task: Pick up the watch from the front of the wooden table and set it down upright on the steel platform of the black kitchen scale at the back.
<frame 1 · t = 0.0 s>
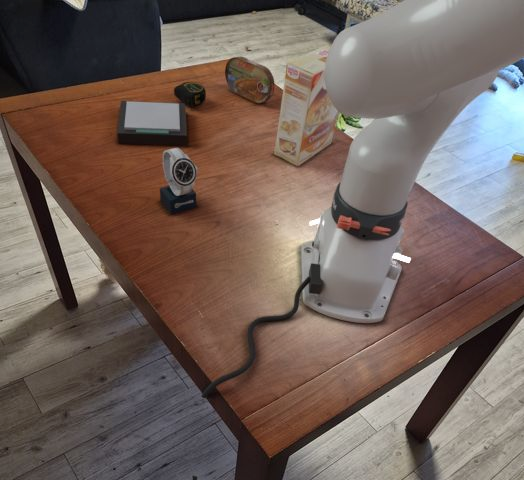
watch: (178, 205, 92), on the table
tin: (248, 97, 124), on the table
scale: (153, 127, 109), on the table
tape measure: (190, 104, 118), on the table
coffeecake box: (303, 149, 110), on the table
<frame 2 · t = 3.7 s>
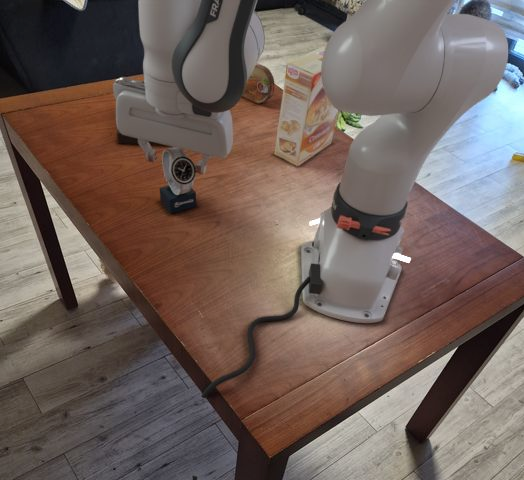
hand: (176, 166, 86), 8 cm above the table, tool pointing down, fingers open, 8 cm apart
nothing on the table moved.
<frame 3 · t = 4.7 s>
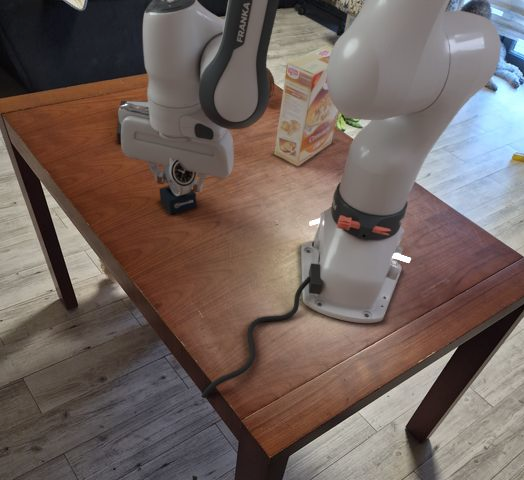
hand: (179, 186, 89), 4 cm above the table, tool pointing down, fingers closed on watch, 6 cm apart
watch: (178, 205, 92), on the table, touching gripper
everything else where it was.
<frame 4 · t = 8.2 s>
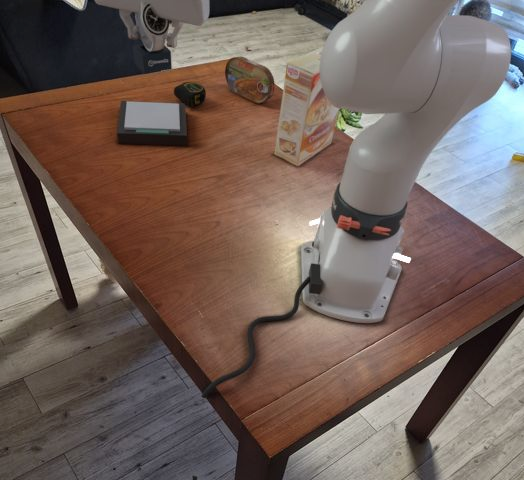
hand: (153, 42, 85), 22 cm above the table, tool pointing down, fingers closed on watch, 6 cm apart
watch: (153, 67, 89), point 17 cm above the table, touching gripper
everything else where it was.
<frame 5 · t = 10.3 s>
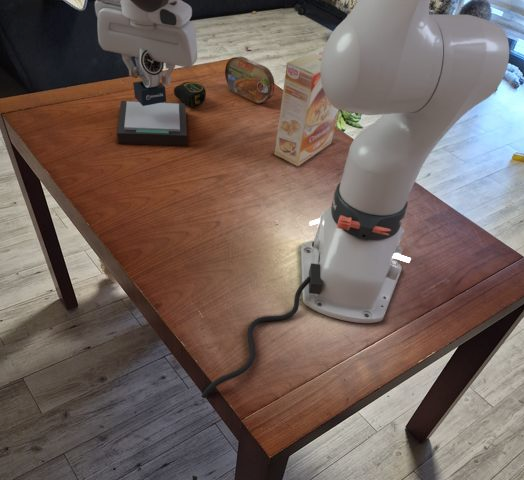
hand: (150, 80, 101), 10 cm above the table, tool pointing down, fingers closed on watch, 6 cm apart
watch: (151, 100, 104), point 6 cm above the table, touching gripper
everything else where it was.
when the fingers open (7 cm above the table, at t = 11.8 s): watch stays where it is, resting on scale.
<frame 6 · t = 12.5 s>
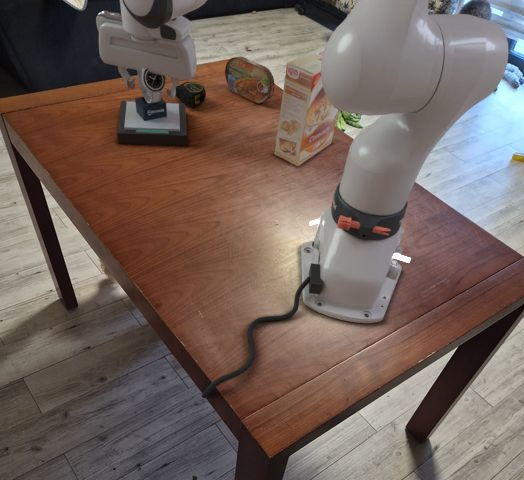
hand: (150, 92, 103), 8 cm above the table, tool pointing down, fingers open, 8 cm apart
watch: (152, 115, 107), point 3 cm above the table, touching scale
everything else where it was.
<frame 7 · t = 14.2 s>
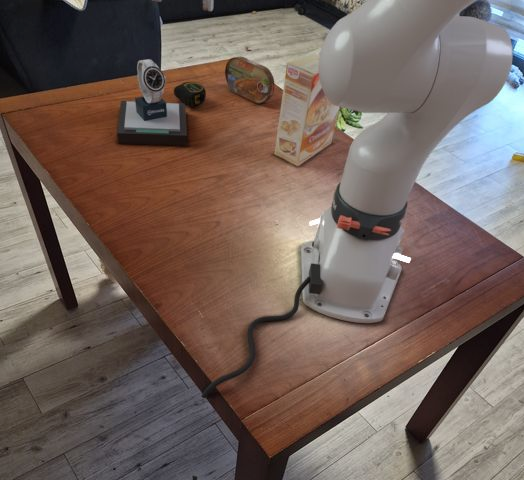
hand: (182, 5, 83), 27 cm above the table, tool pointing down, fingers open, 8 cm apart
nothing on the table moved.
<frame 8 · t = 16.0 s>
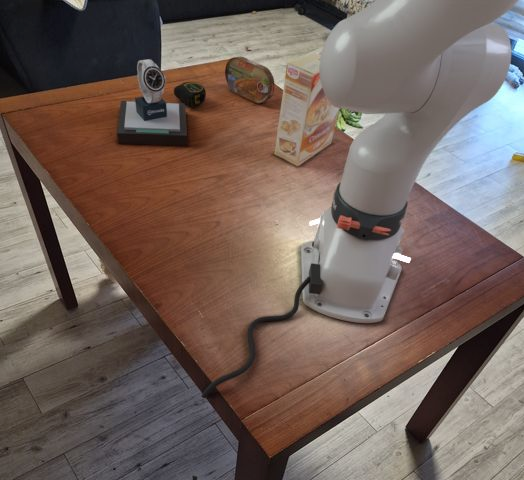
nothing on the table moved.
at the end: watch inside the target area on the scale (0.1 cm from its centre), point 2.8 cm above the scale's base; watch tilted 0°; the gripper is holding nothing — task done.
